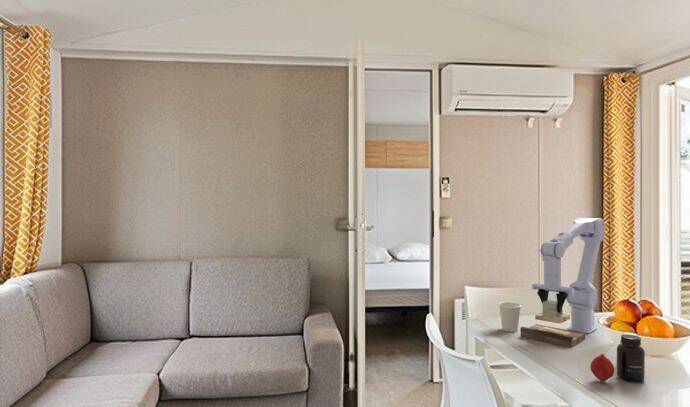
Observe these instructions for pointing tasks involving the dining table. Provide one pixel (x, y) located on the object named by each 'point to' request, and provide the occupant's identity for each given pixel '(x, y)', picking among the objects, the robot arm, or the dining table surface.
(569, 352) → the dining table surface
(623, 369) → the supplement bottle
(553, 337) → the dock
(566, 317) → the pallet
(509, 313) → the dixie cup
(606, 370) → the onion
